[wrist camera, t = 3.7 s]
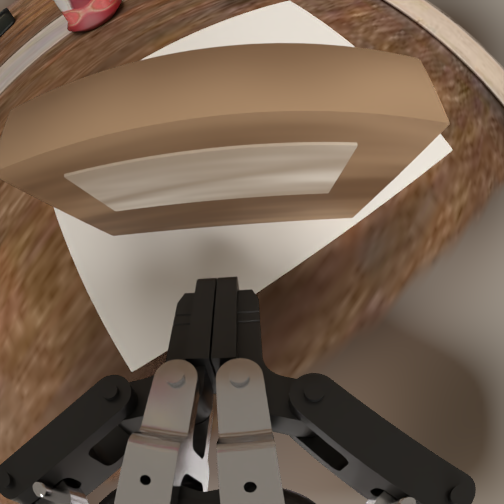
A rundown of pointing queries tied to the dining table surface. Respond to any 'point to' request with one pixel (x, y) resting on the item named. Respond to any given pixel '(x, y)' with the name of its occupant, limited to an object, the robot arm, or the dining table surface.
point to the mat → (209, 238)
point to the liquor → (87, 13)
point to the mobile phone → (5, 21)
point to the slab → (224, 136)
